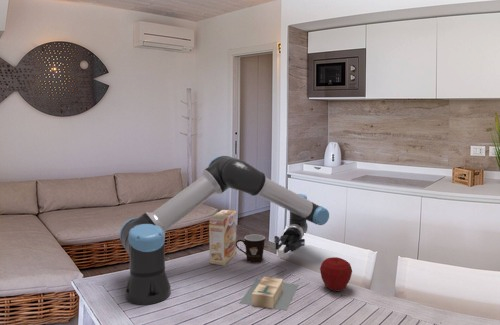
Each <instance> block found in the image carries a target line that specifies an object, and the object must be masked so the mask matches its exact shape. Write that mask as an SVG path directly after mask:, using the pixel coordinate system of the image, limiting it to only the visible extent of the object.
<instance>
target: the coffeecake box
mask: <svg viewBox="0 0 500 325" xmlns="http://www.w3.org/2000/svg"><path fill="white" fill-rule="evenodd" d="M208 220H209V221H208V222H209V227H208V228H209V232H208V233H209V238H208V239H209V264H211V265H212V264H213V265H219V266H226V264H228V263H229V261H230V260H232V258H233V257H234V256H236V254H237V247H236V242H237V210H230V209H222V210H220V211H218V212H217V213H214V214H213V215H212V216H210V217H208Z"/></svg>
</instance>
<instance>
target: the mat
mask: <svg viewBox="0 0 500 325" xmlns="http://www.w3.org/2000/svg"><path fill="white" fill-rule="evenodd" d="M261 280H262V279H259V278H256V279H255V281H254V282H253V283H252V285H251V286H250V287H249V289H248V290H247V291H246V293H245V295H243V297H242V298H241V300H240V301H239V302H238V304H240V305H241V304H242V305H248V306H253V305H252V293H253V291H254V290H255V289H256V287H257V286H258V284H259V283H260V281H261ZM299 286H300V284H296V283H290V282H288V283H287V282H283V291H282V293H281V295H280V296H279V298H278V300H277V302H276V304H275V305H274V307H273V309H272V310H279V311H288V308H289V307H290V305H291V302H293V298H294V296H295V294H296V293H297V292H296V291H297V290H298V288H299Z"/></svg>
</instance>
